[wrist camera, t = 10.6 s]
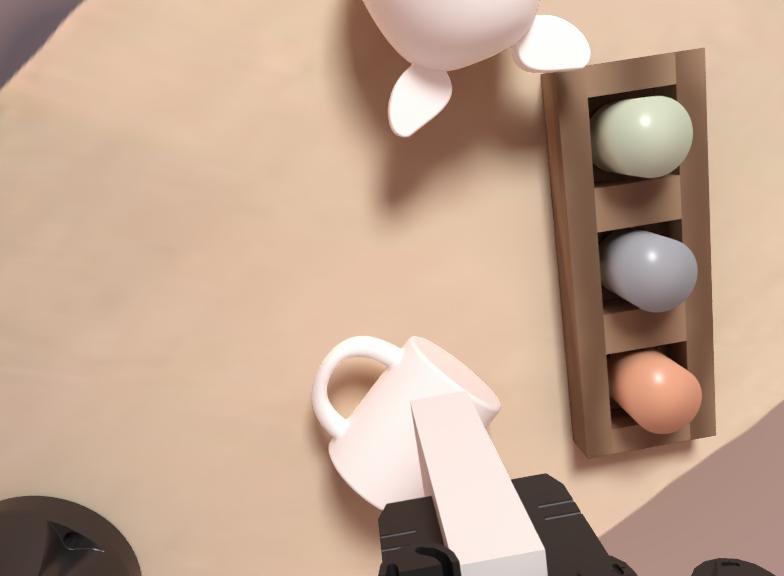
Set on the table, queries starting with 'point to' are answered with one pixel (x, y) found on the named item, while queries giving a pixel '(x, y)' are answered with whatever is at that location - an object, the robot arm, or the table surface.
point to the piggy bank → (466, 47)
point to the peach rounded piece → (653, 389)
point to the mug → (391, 414)
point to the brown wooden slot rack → (622, 210)
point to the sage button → (640, 136)
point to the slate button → (647, 269)
